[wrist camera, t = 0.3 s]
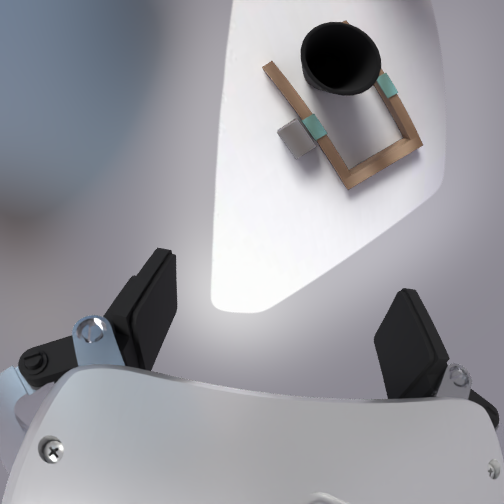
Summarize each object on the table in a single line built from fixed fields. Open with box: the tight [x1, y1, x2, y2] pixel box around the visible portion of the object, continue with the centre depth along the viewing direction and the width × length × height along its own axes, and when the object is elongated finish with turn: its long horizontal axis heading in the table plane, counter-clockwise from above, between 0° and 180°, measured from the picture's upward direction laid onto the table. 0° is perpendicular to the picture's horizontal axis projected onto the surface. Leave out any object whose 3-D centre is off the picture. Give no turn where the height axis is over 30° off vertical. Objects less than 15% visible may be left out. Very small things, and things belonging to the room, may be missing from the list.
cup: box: [301, 22, 381, 96], centre depth 25 cm, size 8×8×12 cm
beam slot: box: [262, 21, 423, 190], centre depth 31 cm, size 17×20×4 cm
